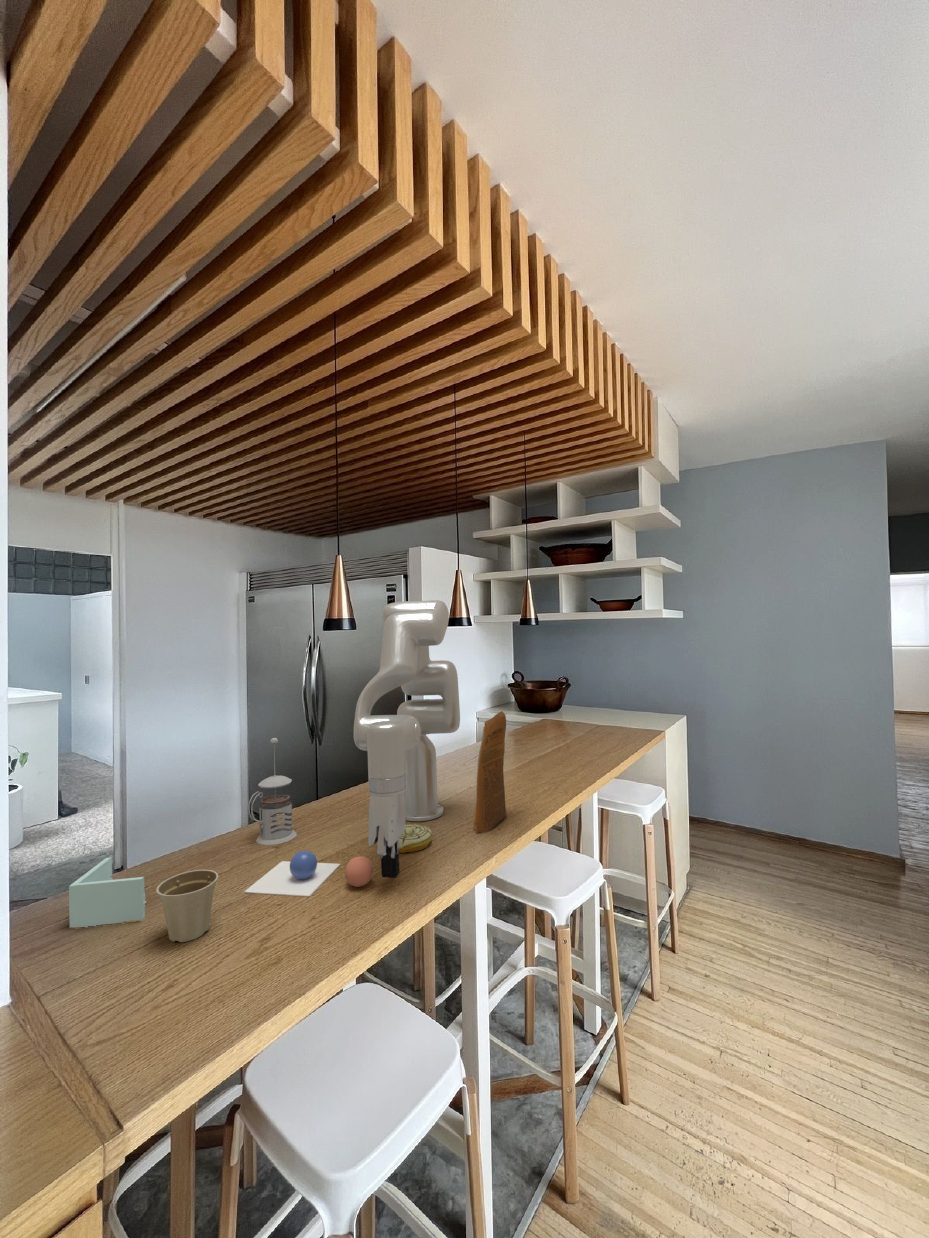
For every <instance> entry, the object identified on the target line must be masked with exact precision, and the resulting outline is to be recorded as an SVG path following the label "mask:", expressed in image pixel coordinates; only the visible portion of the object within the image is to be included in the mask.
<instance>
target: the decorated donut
mask: <svg viewBox="0 0 929 1238" xmlns="http://www.w3.org/2000/svg"><path fill="white" fill-rule="evenodd" d="M432 831H433V830H432V829H430V828H429V827H427V826H425V825H423V824H422V825H421V824H415V823H412V824H411V823H410V824H406V826H405V831H404V833H403V834H402V835H401V837H400V838H399V853H398V854H405V853H406V852H411V853H414V851H415V852H418V851H420V850H424V849H426V848H427V847H428V846H429V845H430V843H431V842H432V839H433V835H432V834H433V833H432Z"/></svg>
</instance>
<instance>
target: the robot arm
mask: <svg viewBox="0 0 929 1238" xmlns="http://www.w3.org/2000/svg"><path fill="white" fill-rule="evenodd" d="M448 608H449V607H448V605H447V604H446V603H445V602H444V601H443V600H436V599H435V600H412V601H411V600H408V601H406V600H405V601H396V602H391V603H387V604H385V606H384V607H383V609H382V619H383V622H384V623H383V629H382V630H383V632H382V642H381V643H382V644H381V653H380V665H379V670H378V673H376V674H375V675H374V676H373V678H372V677H371V679H370V680H369V682H368V683H367V684H366V685H365V687H364V688H363V690H361V693H360V694H359V696H358V700H357V702H356V705H355V712H354V721H353V741H354V744H355V746H356V747H357V748H358V749H359V750H361V751H365V752H367V770H368V771H367V772H368V773H367V774H368V776H367V777H368V794H369V795H370V796H369V803H368V818H367V819H368V821H367V822H368V824H367V826H368V827H367V828H368V829H367V831H368V833H367V837H368V839H367V841H368V844H367V845H368V846H369V847H374V846H375V845H376V844H377V856H380V861H381V862H380V863H381V866H380V867H381V877H382V878H389V879H396V878H397V877H398V876H399V874H400V853H399V838H400V837H401V835H402V834H403V833H404V831H405V826H406V825H407V822H406V821H408V822H409V821H410V822H425V821H433V820H434V819H438V818H440V817H441V816H443V815H444V813H445V811H444V806H442V805H440V804H439V798H438V771H437V752H436V747H435V745H434V743H433V742H432V740H431V739H430V738H429V737H428V735H430V734H431V735H433V734H436V735H437V734H439V735H440V734H452V733H455V732H457V731H458V729H459V728H460V724H461V708H460V695H459V694H460V692H459V691H460V689H459V678H458V672H457V671H458V670H457V668H456V666H455V664H454V663H453V662H452V661H450V660H441V659H440V660H431V659H430V658H431V657H430V647H432V646H440V644H442V643H443V641H444V638H445V637H446V636H445V635H446V631H447V630H448V627H449V621H450V615H449V613H450V612H449V609H448ZM399 687H400V688H401V690H402V692H403V693H404V694H405V695H407V696H417V697H418V696H420V697H421V696H440V697H441V698H431V699H429V698H424V699H419V698H418V699H410V700H406V701H404V702H402V703H400V704H399V706H398V708H397V711H396V714H382V715H381V714H379V715H377V714H376V715H374V714H373V715H371V713H372V709H373V707H374V705H375V704H376V702H377V701H378V700H379V699H380V698H381V697H383V696H384V695H385V694H387V693H389V692H391V691H393V690H395V689H398V688H399Z"/></svg>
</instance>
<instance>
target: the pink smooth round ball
mask: <svg viewBox="0 0 929 1238" xmlns="http://www.w3.org/2000/svg"><path fill="white" fill-rule="evenodd" d="M373 875H374V867H373V864H372V862H371V860H370V859H369V858H367V857H365V856H362V855H361V856H360V855H359V856H355V857H352V859H350V860H349V861H348V863H347V864H346V866H345V871H344V876H345V879H346V881H347V882H348V884H349V885H351V886H352V887H357V888H358V887H359V888H360V887H363V886H366V885H367V884H368V883H369V882H370V881H371V880H372V877H373Z"/></svg>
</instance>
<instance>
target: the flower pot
mask: <svg viewBox="0 0 929 1238" xmlns="http://www.w3.org/2000/svg"><path fill="white" fill-rule="evenodd" d="M218 879H219V874H218V873H217V872H216V871H215V870H212V869H193V870H189V871H185V872H182V873H179V874H175V875H173V876H170V877H169V878H167V879H165V880H163V881H162V882H161V883H159V884H158V885H157V887H156V891H155V892H156V894H157V895H158V897H159V900H160V901H161V903H162V907H163V912H164V917H165V923H166V928H167V933H168V939H169V941H171V942H174V943H175V941H177V942H179V943H185V942H186V943H187V942H189V941H193V940H197V939H198V938H200V937H201V936H203V935H204V934H205V932H208V931H209V930H210V926H211V916H212V908H213V898H214V890H215V888H216V882H217V881H218Z"/></svg>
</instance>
